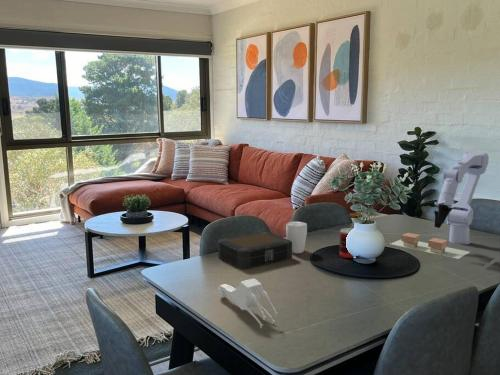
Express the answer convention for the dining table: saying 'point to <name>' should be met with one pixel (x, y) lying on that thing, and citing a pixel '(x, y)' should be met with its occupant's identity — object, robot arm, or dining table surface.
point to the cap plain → (437, 243)
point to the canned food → (344, 243)
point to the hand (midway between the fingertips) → (438, 225)
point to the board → (424, 247)
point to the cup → (296, 235)
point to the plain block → (437, 250)
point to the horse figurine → (247, 296)
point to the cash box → (254, 250)
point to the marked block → (410, 244)
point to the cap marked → (410, 238)
